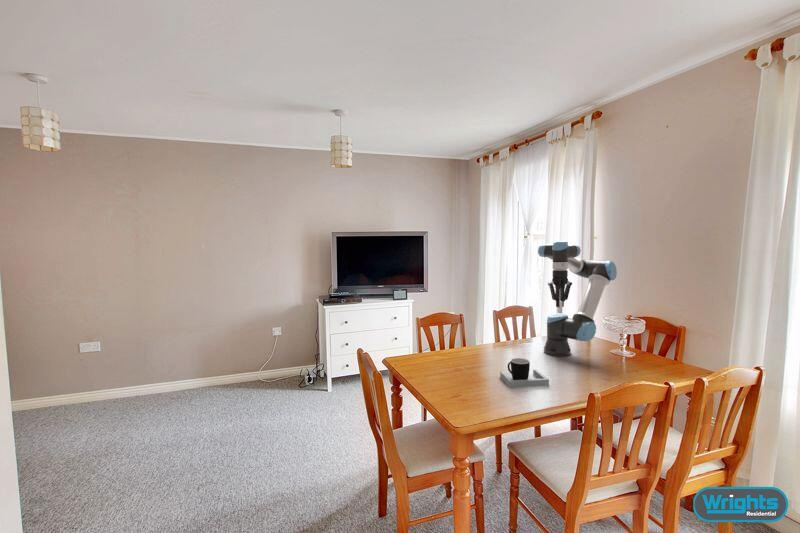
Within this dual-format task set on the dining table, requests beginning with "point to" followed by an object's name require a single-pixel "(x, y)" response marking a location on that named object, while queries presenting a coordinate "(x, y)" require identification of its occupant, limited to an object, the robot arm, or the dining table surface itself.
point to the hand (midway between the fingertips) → (559, 312)
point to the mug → (519, 368)
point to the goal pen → (539, 381)
